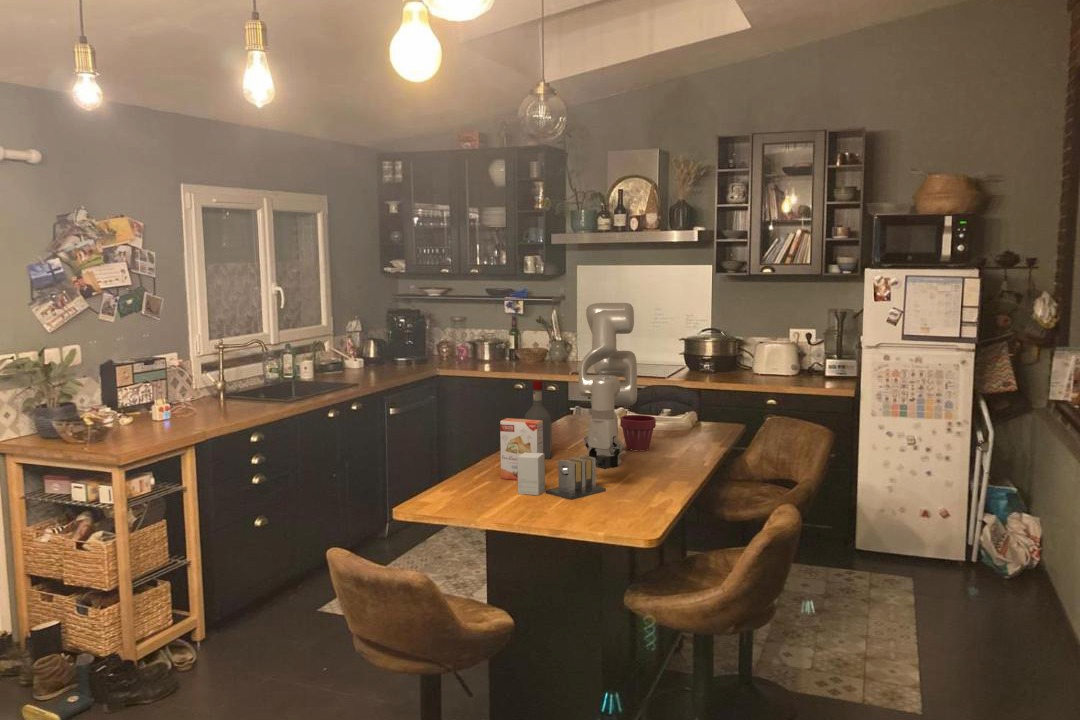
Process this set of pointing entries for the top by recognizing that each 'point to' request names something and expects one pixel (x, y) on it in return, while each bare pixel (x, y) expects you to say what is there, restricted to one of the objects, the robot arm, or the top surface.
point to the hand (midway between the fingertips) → (603, 465)
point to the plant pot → (637, 431)
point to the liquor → (541, 418)
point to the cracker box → (518, 443)
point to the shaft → (601, 462)
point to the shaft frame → (567, 481)
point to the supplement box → (531, 473)
